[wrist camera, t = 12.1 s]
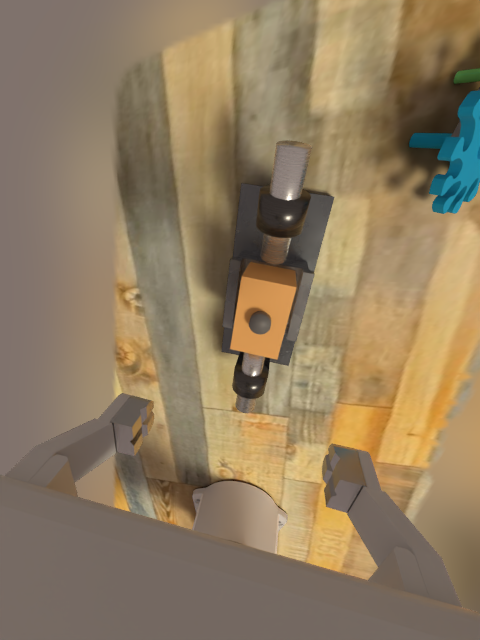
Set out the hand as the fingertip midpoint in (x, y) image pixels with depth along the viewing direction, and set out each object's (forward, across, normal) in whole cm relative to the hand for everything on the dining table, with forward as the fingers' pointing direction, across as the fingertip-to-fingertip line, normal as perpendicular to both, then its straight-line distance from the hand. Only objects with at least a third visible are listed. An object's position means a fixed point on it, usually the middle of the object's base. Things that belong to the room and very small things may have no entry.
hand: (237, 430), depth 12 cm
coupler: (+16, 0, 0) cm, 16 cm away
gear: (+21, -13, -16) cm, 29 cm away
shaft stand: (+21, 0, 0) cm, 21 cm away
